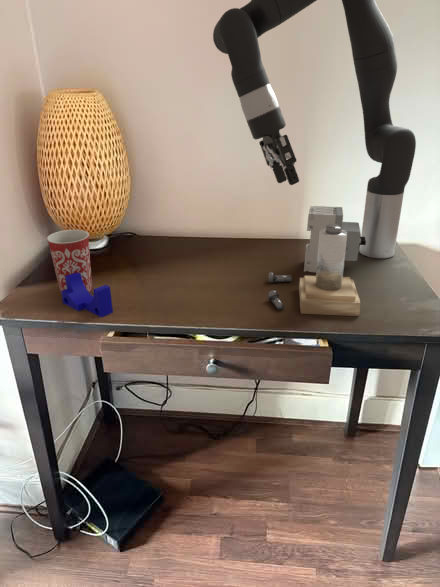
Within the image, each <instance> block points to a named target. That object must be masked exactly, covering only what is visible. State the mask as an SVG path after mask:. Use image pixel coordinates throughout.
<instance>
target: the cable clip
mask: <svg viewBox="0 0 440 587" xmlns="http://www.w3.org/2000/svg"><path fill="white" fill-rule="evenodd" d="M65 279H66V285H67V289H65V290H62V291H61V293H62V294H61V293H60V294H61V298H62V303H63V304H64V305H66V306H67V307H69V308H72V309H74V310H75V311H78V312H80V311H83V310H86V311H88V312H90V313H92V314H94V315H96V316H98V317H100V318H103V317H106V316H108V315H110V314H112V313H113V312H114V310H113V302H112V293H111V292H112V291H111V287H110V286H109V285H107V284H104V285H101V286H98V287H96V288H92V290H93V295H92V294H91V293H90V292H88V291H87V289H86V287H85V286H84V283H83V281H82V278H81V274H80V273H73V274H70V275H67V276H65Z"/></svg>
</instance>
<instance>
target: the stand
mask: <svg viewBox="0 0 440 587" xmlns="http://www.w3.org/2000/svg"><path fill="white" fill-rule="evenodd" d="M298 283H299V285H298V293H299V294H298V295H299V296H298V298H299V309H300V314H306V315H326V316H327V315H328V316H329V315H330V316H350V317H360V313H361V305H362V303H361V300H360V296H359V293H358V290H357V287H356V284H355V281H354V279H351V277H350V276H343V279H342V287H341V288H340V289H338V290H334V291H327V290H322V289H319V288H318V287H316V285H315V283H316V275H304V276H303V277H299V282H298Z"/></svg>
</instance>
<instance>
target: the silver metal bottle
mask: <svg viewBox="0 0 440 587" xmlns="http://www.w3.org/2000/svg"><path fill="white" fill-rule="evenodd" d="M346 241H347V232H346V231H345V230H342V226H340V225H336V224H329V225H326V228H325V229H322V230H320V232H319V245H318V257H317V270H316V272H315V276H316V283H315V285H316V287H318V288H319V289H322V290H327V291H334V290H338V289H340V288H341V287H342V279H343V277H344V269H345V261H346V260H345V251H346Z"/></svg>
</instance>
